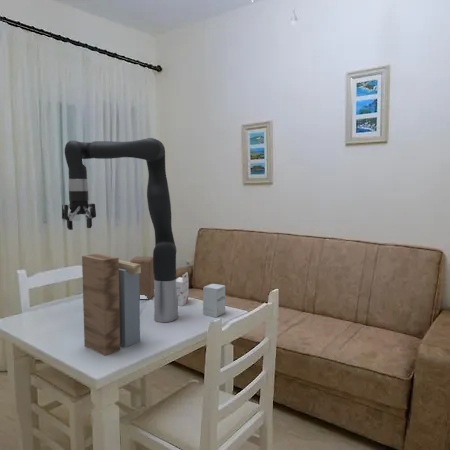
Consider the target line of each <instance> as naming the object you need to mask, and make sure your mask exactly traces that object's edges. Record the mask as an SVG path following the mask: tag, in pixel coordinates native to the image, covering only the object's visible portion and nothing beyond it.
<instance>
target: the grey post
mask: <svg viewBox="0 0 450 450" xmlns="http://www.w3.org/2000/svg"><path fill="white" fill-rule="evenodd" d="M140 300H141V299H140V294H139V273H138V274H129V273H127V270H123V269H119V309H120V347H123V346H124V348H127V347H130V346H133V345H135V344H138V343H140V342H141V315H140V309H141V308H140V304H141V303H140ZM137 342H138V343H137ZM132 344H133V345H132Z"/></svg>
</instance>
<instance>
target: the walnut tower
mask: <svg viewBox="0 0 450 450" xmlns="http://www.w3.org/2000/svg"><path fill="white" fill-rule="evenodd" d="M119 259H120V258H119V257H116V256H111V255H106V254H101V253H93V254H92V253H91V254H86V255H82V256H81V264H82V265H81V267H82V269H81V272H82V273H81V274H82V299H83V300H82V304H83V306H82V307H83V336H84V337H83V338H84V339H83V340H84V341H83V343H84V347H86V348H88V349H90V350H93V351H94V352H97V353H99V354H101V355H103V356H108V355H110V354H112V353H116V352H118V351H120V350H121V345H120V309H119Z"/></svg>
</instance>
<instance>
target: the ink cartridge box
mask: <svg viewBox="0 0 450 450" xmlns="http://www.w3.org/2000/svg"><path fill="white" fill-rule="evenodd" d="M181 276H182V277H181ZM181 276H180V277H177V278H176V295H177V296H178V307H179V306H180V307H181V306H182V307H184V306H185V305H186V304H187V303H188V302H189V272H188V271H186V272H185V273H184V274H182V275H181Z"/></svg>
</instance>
